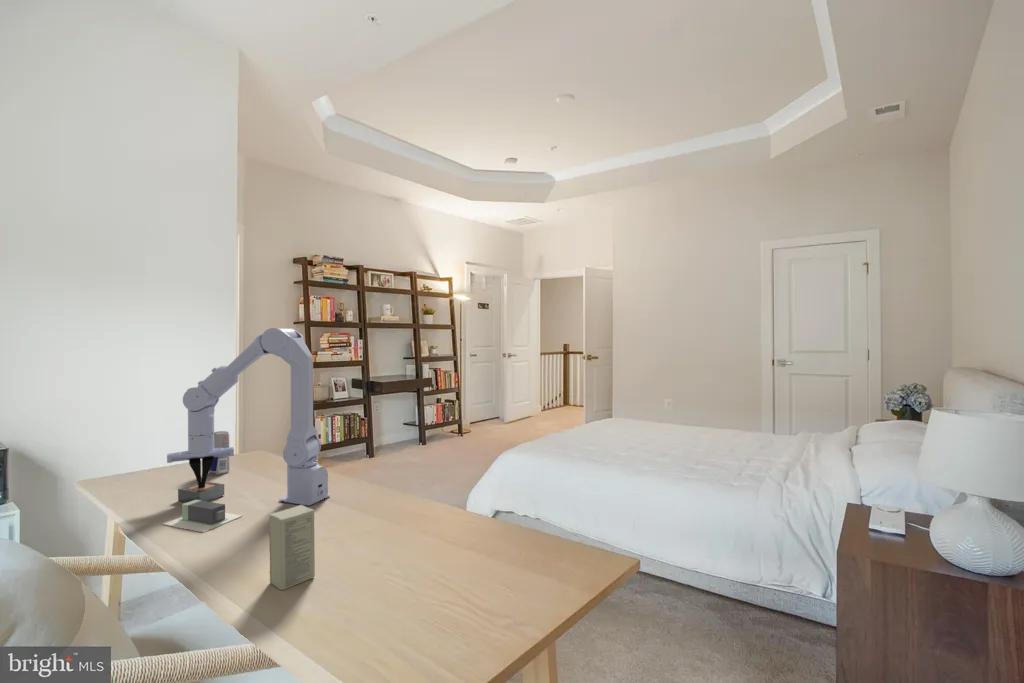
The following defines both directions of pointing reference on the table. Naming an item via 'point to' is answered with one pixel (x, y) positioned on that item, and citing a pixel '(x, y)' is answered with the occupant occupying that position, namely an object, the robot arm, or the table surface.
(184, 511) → the block
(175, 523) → the paper sheet
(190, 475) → the table surface
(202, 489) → the button
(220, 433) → the energy drink
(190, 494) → the button housing
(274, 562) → the skincare box
